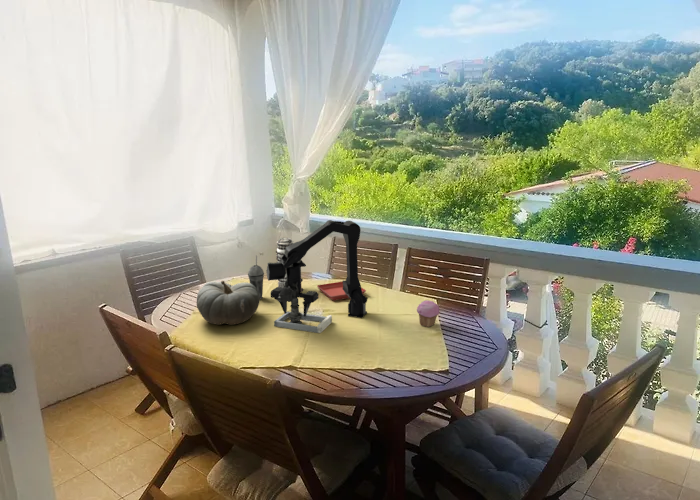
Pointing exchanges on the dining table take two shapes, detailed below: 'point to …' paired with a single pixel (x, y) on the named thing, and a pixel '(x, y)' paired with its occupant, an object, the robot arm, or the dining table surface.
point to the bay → (318, 329)
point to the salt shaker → (295, 312)
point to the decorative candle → (282, 245)
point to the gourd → (227, 302)
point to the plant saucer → (335, 290)
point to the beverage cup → (256, 278)
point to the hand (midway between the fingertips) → (295, 314)
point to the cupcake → (428, 313)
